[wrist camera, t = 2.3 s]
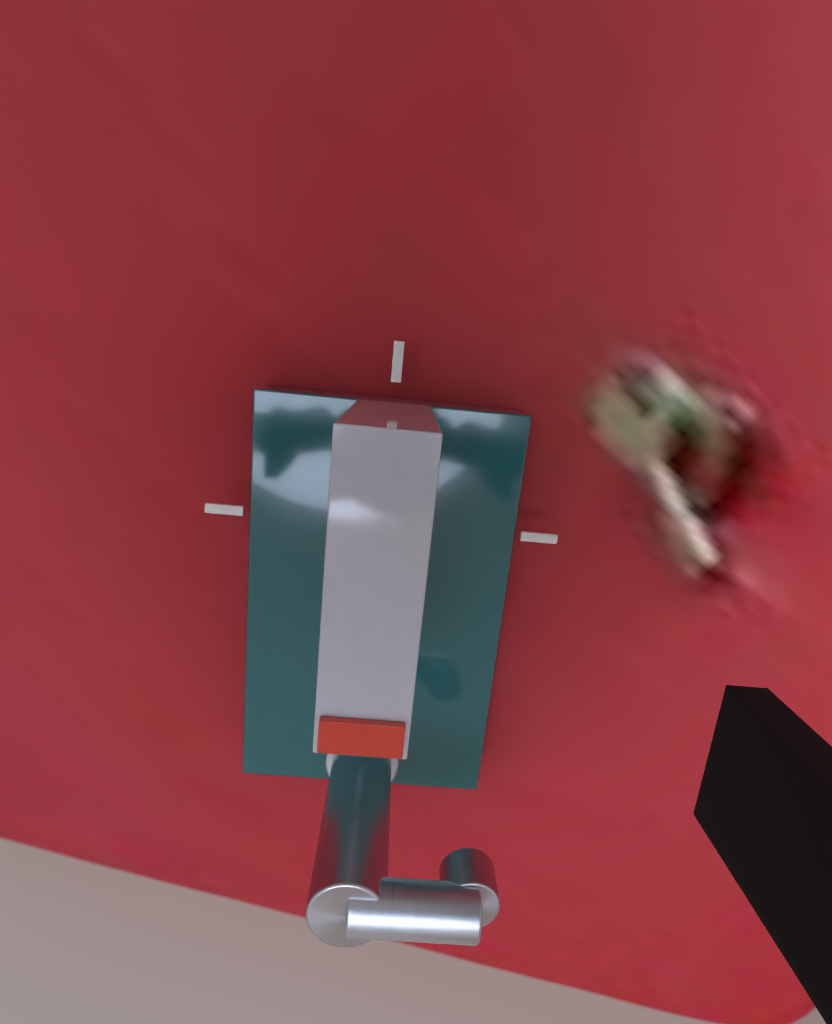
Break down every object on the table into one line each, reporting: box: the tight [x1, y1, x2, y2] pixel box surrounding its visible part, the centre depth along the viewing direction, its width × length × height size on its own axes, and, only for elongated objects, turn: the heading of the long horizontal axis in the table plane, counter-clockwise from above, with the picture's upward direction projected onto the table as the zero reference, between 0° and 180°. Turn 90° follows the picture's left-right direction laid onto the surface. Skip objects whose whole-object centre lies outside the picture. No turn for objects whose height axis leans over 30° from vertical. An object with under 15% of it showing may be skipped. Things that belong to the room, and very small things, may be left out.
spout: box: [306, 754, 500, 947], centre depth 21 cm, size 6×3×8 cm, turn 84°
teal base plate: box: [205, 341, 558, 789], centre depth 24 cm, size 18×13×2 cm
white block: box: [312, 399, 443, 759], centre depth 19 cm, size 9×3×8 cm, turn 174°
